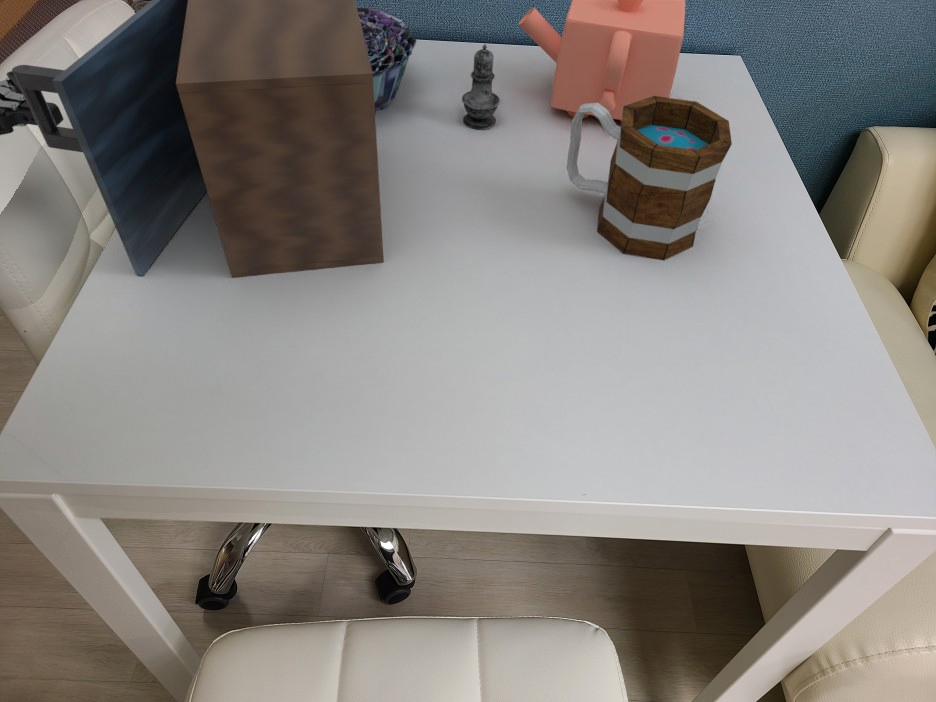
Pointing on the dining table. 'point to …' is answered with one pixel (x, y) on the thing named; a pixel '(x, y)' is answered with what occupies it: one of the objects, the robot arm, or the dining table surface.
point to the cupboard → (284, 131)
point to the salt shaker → (481, 93)
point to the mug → (655, 173)
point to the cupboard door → (128, 126)
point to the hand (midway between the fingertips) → (57, 115)
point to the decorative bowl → (385, 52)
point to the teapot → (611, 51)
